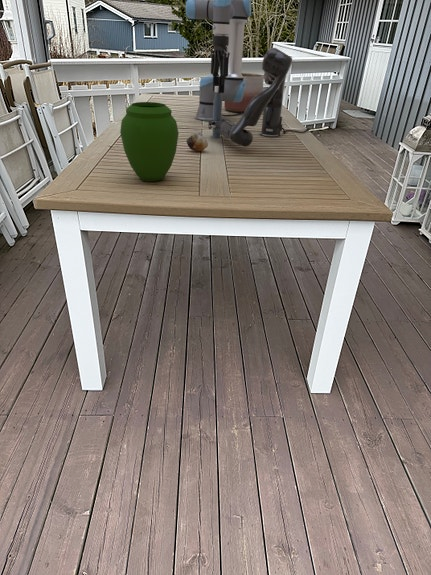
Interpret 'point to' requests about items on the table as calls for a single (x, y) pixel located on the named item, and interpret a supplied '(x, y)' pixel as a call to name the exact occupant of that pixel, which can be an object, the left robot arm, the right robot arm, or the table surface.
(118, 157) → the table surface
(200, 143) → the seashell
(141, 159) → the vase
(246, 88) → the planter
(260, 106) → the right robot arm
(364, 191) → the table surface
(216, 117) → the bottle
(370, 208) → the table surface
